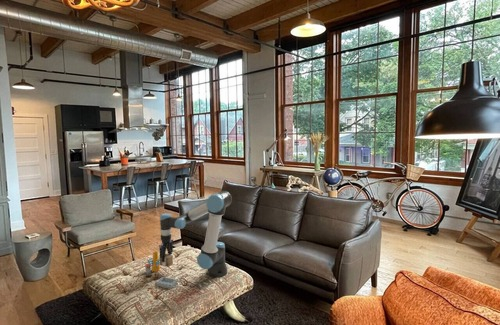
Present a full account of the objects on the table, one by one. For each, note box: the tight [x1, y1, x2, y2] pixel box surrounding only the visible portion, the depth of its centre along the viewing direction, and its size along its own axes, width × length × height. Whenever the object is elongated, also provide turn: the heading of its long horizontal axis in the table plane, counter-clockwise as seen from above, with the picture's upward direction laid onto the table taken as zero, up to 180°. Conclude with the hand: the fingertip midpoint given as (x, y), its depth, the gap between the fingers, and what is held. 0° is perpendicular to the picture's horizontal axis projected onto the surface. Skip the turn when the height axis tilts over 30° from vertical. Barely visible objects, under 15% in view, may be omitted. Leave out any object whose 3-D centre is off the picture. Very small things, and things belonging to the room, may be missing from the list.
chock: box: [159, 253, 174, 268], centre depth 221 cm, size 8×5×7 cm, turn 68°
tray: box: [155, 276, 179, 290], centre depth 203 cm, size 12×8×3 cm, turn 68°
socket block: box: [141, 273, 155, 283], centre depth 211 cm, size 6×6×2 cm
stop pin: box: [144, 263, 152, 278], centre depth 210 cm, size 4×4×11 cm
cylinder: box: [147, 250, 161, 273], centre depth 225 cm, size 12×10×15 cm
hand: (166, 264), depth 221 cm, fingers closed on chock, 5 cm apart
